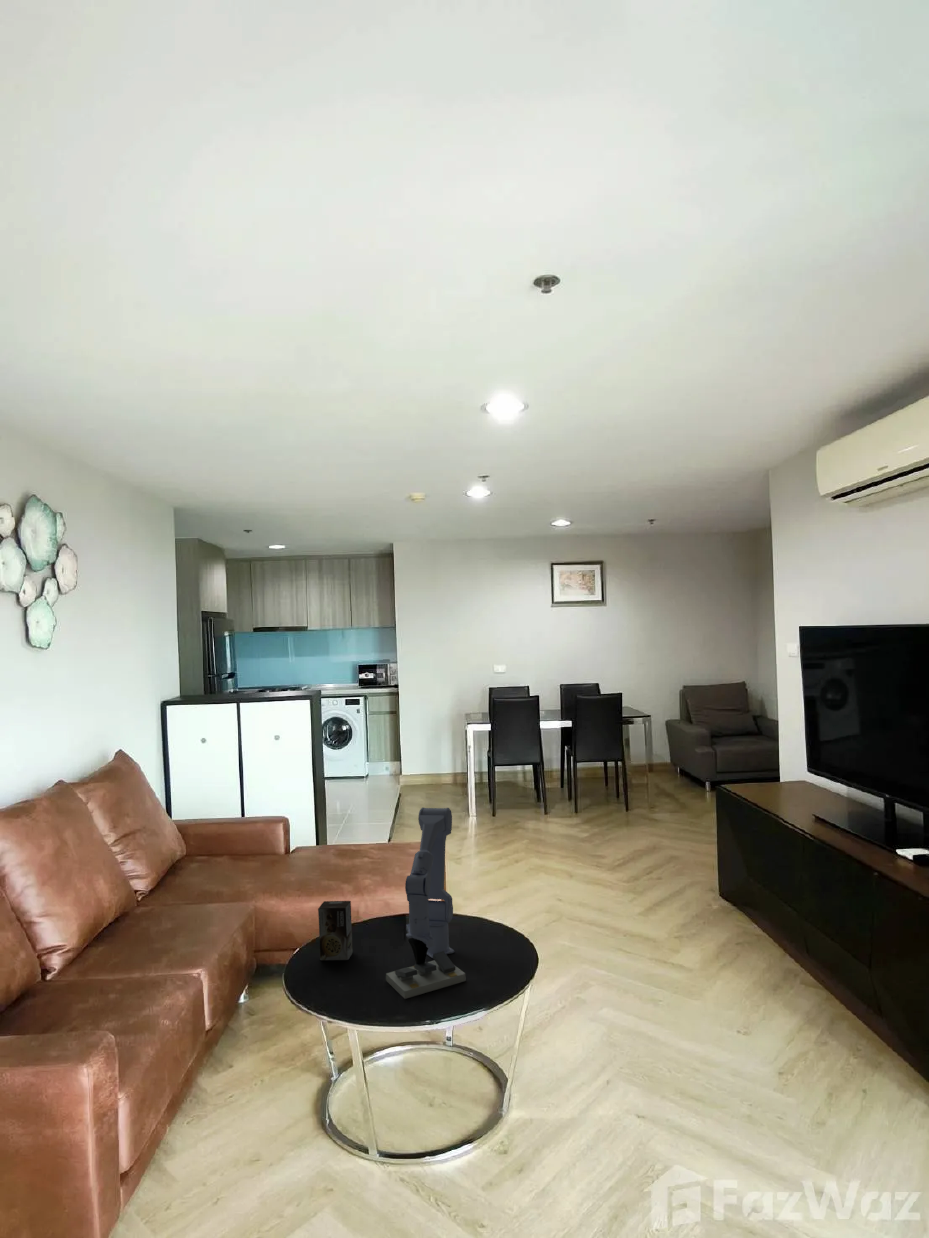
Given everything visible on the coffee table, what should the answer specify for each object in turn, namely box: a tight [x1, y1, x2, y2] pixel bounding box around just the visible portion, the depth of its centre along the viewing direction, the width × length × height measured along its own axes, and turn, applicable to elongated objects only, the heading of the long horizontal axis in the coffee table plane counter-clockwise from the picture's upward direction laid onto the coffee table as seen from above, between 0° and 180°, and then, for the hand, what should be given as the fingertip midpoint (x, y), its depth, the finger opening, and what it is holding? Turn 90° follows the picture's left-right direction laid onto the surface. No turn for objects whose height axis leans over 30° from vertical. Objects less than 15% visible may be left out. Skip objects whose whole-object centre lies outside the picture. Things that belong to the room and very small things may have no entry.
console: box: [385, 959, 467, 1000], centre depth 202 cm, size 13×19×3 cm
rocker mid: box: [413, 961, 437, 973], centre depth 203 cm, size 8×4×1 cm, turn 29°
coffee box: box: [317, 900, 354, 961], centre depth 222 cm, size 9×6×16 cm
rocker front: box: [394, 967, 417, 978], centre depth 200 cm, size 8×4×1 cm, turn 29°
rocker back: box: [432, 951, 456, 974], centre depth 205 cm, size 8×4×1 cm, turn 29°
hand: (420, 963), depth 205 cm, fingers closed, pressing on rocker mid
